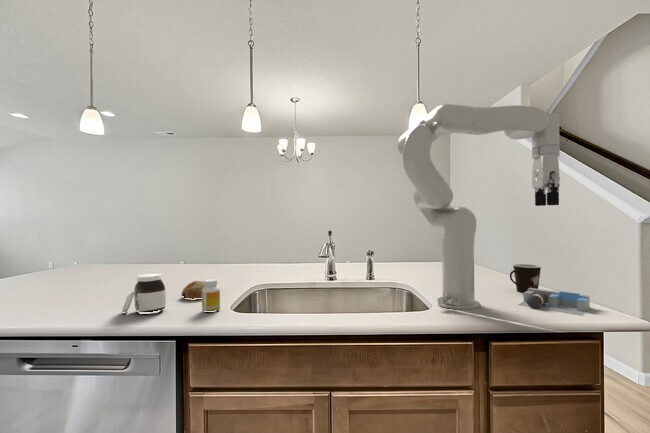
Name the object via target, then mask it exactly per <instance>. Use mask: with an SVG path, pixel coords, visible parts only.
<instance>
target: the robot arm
mask: <svg viewBox="0 0 650 433" xmlns="http://www.w3.org/2000/svg"><path fill="white" fill-rule="evenodd" d="M502 131H503V132H504V134H505V136H507V138H509V139H512V140H523V139H524V140H525V139H528V138H529V139H530V138H531V153H532V154H531V156H532V157H531V158H532V159H533V163H532V171H531V172H532V174H531V175H532V176H531V187H532V188H533V189H534V205H535V206H536V207H537V206H538V207H539V206H540V207H545V206H559V205H560V181H561V178H560V166H559V164H560V163H559V157H560V156H561V155H560V154H561V150H560V149H561V148H560V116H559V115H558V114H557V113H555V112H547V111H545V110H544V109H543V108H540V107H536V106H530V105H529V106H527V105H501V106H489V107H488V106H487V107H479V106H470V105H462V104H450V103H445V104H440V105H438V106H437V107H435V108H434V109H433V110H432V111H430V112H429V113H428V114H427V115H425V116H424V117H423V118H422V119H421V120H419V121H418V122H416V124H415V125H414V126H411V127H410V128H409V129H408V130H406V131H405V132H404V133H402V135H400V137H399V138H398V140H397V149H398V151H399V153H400V154H401V155H402V165H403V168H404V171H405V174H406V176H407V178H408V179H409V181H410V182H411V183H412V185H413V186H414V188H415V189H414V192H413V200H414V203H415V205H416V207H417V208H418V210H419V211H420V213H421V214H422V215H423V216H424V218H425V219H426V220H427V222H428V223H429V225H430V226H431V227H432V228H433V229H434V230H435V232H437V233H439V234H440V235H441V234H442V235H444V236H443V239H442V245H441V258H442V259H441V262H442V263H441V265H442V266H441V268H442V270H441V272H442V278H441V280H442V296H441V297H438V298H437V300H436V301H437V305H438V306H440V307H444V308H445V309H450V310H453V309H454V310H458V309H459V310H473V309H478V308H479V307H481V303H480V302H479V301H478V300H476V299H475V297H476V296H475V294H476V293H475V238H476V232H477V218H476V216H475V213H473V211H471V209H470V208H468V207H465V206H460V205H459V206H456V205H455V206H451V203H452V202H453V198H454V194H453V190H452V188H451V186H449V184H448V182H447V181H446V180H445V179H444V177H443V176H442V174H440V173H441V172H439V170H438V169H437V168H436V166H435V164H434V163H433V161H432V159H431V147H432V144H433V142H435V141H436V140H437V139H439V138H440V137H441V136H442V135H443V134H445V133H454V134H455V133H456V134H465V135H474V136H480V135H482V136H483V135H488V134H493V133H497V132H502ZM546 190H547V192H546Z"/></svg>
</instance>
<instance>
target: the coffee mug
mask: <svg viewBox="0 0 650 433" xmlns="http://www.w3.org/2000/svg"><path fill="white" fill-rule="evenodd" d="M512 268H513V270H511V271H510V273H509V279H510V281H511V282H512V283H513V284H514V285H515V288H516V292H518V293H520V294H524V292H526V291H528V288H535V289H539V285H540V277H541V270H542V266H540V265H537V264H528V263H527V264H526V263H525V264H524V263H517V264H513V267H512ZM513 274H514V279H513V276H512V275H513Z"/></svg>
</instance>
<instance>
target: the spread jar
mask: <svg viewBox="0 0 650 433" xmlns="http://www.w3.org/2000/svg"><path fill="white" fill-rule="evenodd" d="M136 276H137V277H136V278H137V279H136V280H137V282H136V284H135V286H134V289H133V291H128V294H127V296H126V298H125V301H124V304H123V307H122V310H121V313H122V312H127V311H129V310H128V309H130V307H131V304H132V302H133V300H134V309H136V310H137V311H139V312H153V311H158V310H162V309H164V310H165V308H166V304H167V303H166V302H167V300H166V299H167V298H166V296H167V294H166V286H165V283H164V282H163V280H162V278H163V277H162V273H145V274H139V275H136ZM133 298H134V299H133ZM136 310H135V311H136ZM127 313H128V312H127Z"/></svg>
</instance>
